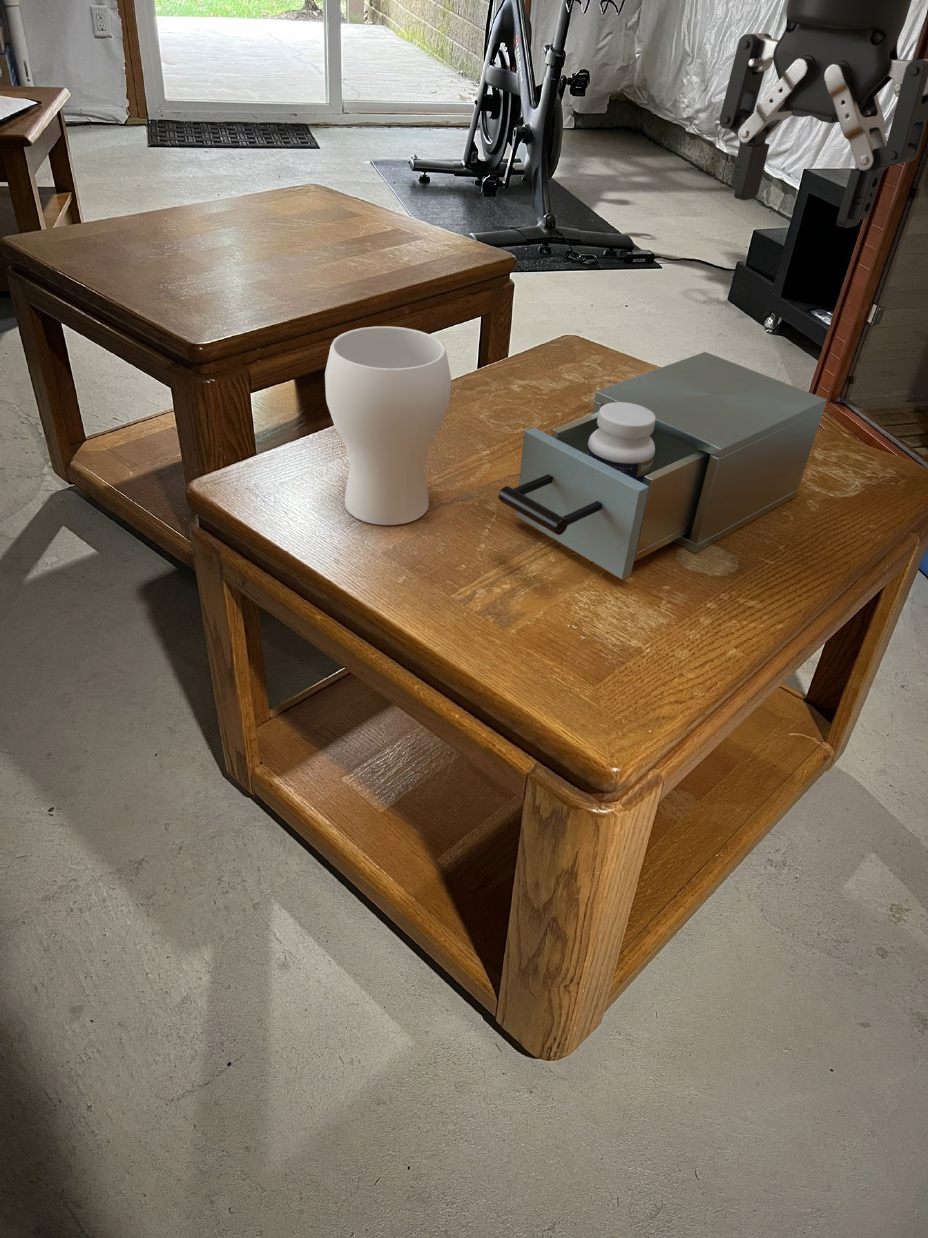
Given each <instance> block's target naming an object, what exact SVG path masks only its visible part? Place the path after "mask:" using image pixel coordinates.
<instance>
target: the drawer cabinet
mask: <svg viewBox="0 0 928 1238" xmlns="http://www.w3.org/2000/svg"><path fill="white" fill-rule="evenodd" d="M593 400H594V401H593V406H592V412H591V414H594V413H596V412H599V410H600V408H601V407H602V406H603V405H605V404H608V403H615V402H624V403H631V404H636V405H639V406H643V407H645V408H647V409H649V410H650V411H652V412H653V413H654V415H655V418H656V420H655V426H654V428H655V429H657V430H660V431H662V432H664V433H666V434H668V435H670V436H672V437H675V438H677V439H679V440H681V441H683V442H685V443H687V444H690V445H692V446H694V447H696V448H698V449H700V450H702V451H705V452H707V453H709V454H711V455H710V459H709V463H708V467H707V471H706V475H705V479H704V484H703V488H702V492H701V496H700V500H699V504H698V508H697V512H696V516H695V520H694V524H693V528H692V531H690V532H689V533H687V534H685V535H683V536H681V537H679V538H677V539H675V540H674V541H673V543H675V544H677V545H678V546H679V545H680V547H683V548H685V549H686V550H688V551H690V552H692V553H693V554H696V553H698V552H700V551H702V550H703V549H705V548H707V547H709V546H710V545H713V544H714V543H715V542H718V541H720V540H721V539H723V538H725V537H727V536H729V535H730V534H732V533H734V532H736V531H737V530H739V529H741V528H743V527H744V526H746V525H749V524H750V523H752V522H753V521H754V522H755V520H757V519H759V518H761V517H762V516H765V515H766V514H769V512H772V511H773V510H775V509H777V508H778V507H780V506H783V505H784V504H786V503H787V502H789V501H791V500H793V499H795V498H796V497H798V493H799V489H800V486H801V483H802V480H803V477H804V473H805V471H806V467H807V464H808V461H809V459H810V455H811V452H812V449H813V445H814V443H815V439H816V437H817V432H818V430H819V426H820V424H821V420H822V417H823V414H824V411H825V408H826V404H827V401H828V399H827V398H825V397H821V396H819V395H817V394H814V393H811V392H809V391H806V390H803V389H801V388H798V387H797V386H794V385H792V384H789V383H785V382H784V381H781V380H779V379H776V378H773V377H771V376H768V375H765V374H763V373H761V372H758V371H755V370H753V369H750V368H747V367H746V366H743V365H740V364H738V363H735V362H732V361H730V360H727V359H724V358H722V357H720V356H717V355H715V354H712V353H709V352H707V351H704V352H700V353H698V354H695V355H692V356H689V357H686V358H683V359H681V360H678V361H675V362H673V363H671V364H667V365H664V366H662V367H658V368H655V369H653V370H651V371H648V372H645V373H643V374H639V375H637V376H634V377H631V378H629V379H628V378H627V379H625V380H622V381H620V382H617V383H614V384H612V385H609V386H606V387H604V388H601V389H598V390H595V393H594V398H593Z"/></svg>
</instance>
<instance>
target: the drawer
mask: <svg viewBox="0 0 928 1238" xmlns="http://www.w3.org/2000/svg"><path fill="white" fill-rule="evenodd" d="M598 415H599V412H596V413H594V414H592V413H591V414H588V415H586V416H583V417H581V418H578V419H576V420H573V421H570V422H568V423H565V424H562V425H560V426H557V427H554V428H552V429H551V432H550V433H551V434H550V435H549V434H547V433H546V432H544V431H542V430H540V429H538V428H536V427H531V428H529V429H526V430H524V434H523V442H522V450H521V459H520V468H519V469H520V470H519V478H518V486H517V487H511V486H509V485H505V486H503V487H501V489H500V491H499V492H498V500H499V502H500V503H502V504H504V505H506V506H507V507H509V508H511V509H513V510H514V511H515V514H514V515H515V517H516V518H518V519H520V520H521V521H524V522H525V523H526V524H528V525H530V526H532V527H534V528H535V529H537V530H539V531H540V532H542V533H544V534H545V535H547V536H548V537H550V538H552V539H554V540H556V541H557V542H558V543H560V544H562V545H563V546H565V547H567V548H569V549H570V550H571V551H574V552H575V553H577V554H579V555H580V556H582V557H583V558H586V559H587V560H589V561H590V562H592V563H594V564H596V565H597V566H598V567H600V568H602V569H604V570H605V571H607V572H609V573H610V574H612V575H614V576H616V577H617V578H619V579H621V580H624V579H625V578H627V577H630V576H631V575H632V571H633V566H634V562H636V561H638V560H640V559H642V558H643V557H645V556H648V555H650V554H651V553H653V552H655V551H657V550H659V549H661V548H662V547H664V546H666V545H668V544H670V543H672V542H674V540H675V539H677V538H679V537H681V536H683V535H685V534H687V533H689V532H690V531H692V528H693V524H694V520H695V516H696V512H697V508H698V504H699V500H700V496H701V492H702V488H703V484H704V479H705V475H706V471H707V467H708V463H709V459H710V455H711V454H709V453H707V452H705V451H702V450H700V449H698V448H696V447H694V446H692V445H690V444H687V443H685V442H683V441H681V440H679V439H677V438H675V437H672V436H670V435H668V434H666V433H664V432H662V431H660V430H657V429H655V428H654V431H653V433H652V434H650V436H649V437H650V438H651V439H652V440H653V442H654V445H655V455H654V460H653V464H652V469H651V473H650V474H648V475H646V476H645V477H644V481H643V483H641V482H639V481H637V480H635V479H633V478H631V477H629V476H627V475H626V474H624V473H622V472H620V471H618V470H616V469H614V468H612V467H610V466H608V465H606V464H604V463H602V462H600V461H598V460H596V459H594V458H592V457H590V456H588V455H587V454H586V452H587V446H588V441H589V438H590V436H591V434H592V433H593V432H594V431H596V430H597V429H599V426H598V425H597V419H598Z"/></svg>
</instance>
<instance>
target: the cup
mask: <svg viewBox="0 0 928 1238" xmlns="http://www.w3.org/2000/svg"><path fill="white" fill-rule="evenodd" d="M326 361H327V363H326V365H325V366H326V367H325V370H324V371H325V372H324V384H325V385H324V387H325V400H326V405H327V407H328V411H329V414H330V417H331V419H332V423H333V425H334V427H335V429H336V431H337V433H338V434H339V436H340V438H341V440H342V441H343V443H344V445H345V446H346V452H347V459H348V465H349V469H348V470H349V471H348V476H347V482H346V487H345V496H344V507H345V509H346V511H347V512H348V514H350V515H351V516H353V517H354V518H356V519H357V520H360V521H363V522H364V523H369V524H372V525H378V526H379V525H380V526H397V525H398V526H399V525H403V524H408V523H410V522H411V523H412V522H413V521H417V520H418V519H419V518H421V517H422V516H425V514H426V513H427V512H428V509H429V505H430V500H429V490H428V484H427V478H426V477H427V476H426V470H425V469H426V464H427V459H428V455H429V454H428V453H429V449H430V447H431V445H432V443H433V441H434V440H435V439H436V437H437V435H438V434H439V433H440V431H441V428H442V426H443V422H444V420H445V417H446V415H447V412H448V409H449V405H450V400H451V389H452V388H451V387H452V376H451V370H450V365H449V359H448V353H447V348H446V347H445V345H444V343H443V341H441V340H440V339H439V338H437V337H435V336H433V335H431V334H429V333H428V332H424V331H421V330H418V329H413V328H407V327H402V326H401V327H400V326H387V325H384V326H383V325H382V326H381V325H380V326H379V325H377V326H375V325H374V326H367V327H359V328H356V329H351V330H348V331H346V332H344V333H340V334H339V335H338V336H337V337H335V338H334V339H333V340H332V342H331V344H330V348H329V353H328V356H327V360H326Z"/></svg>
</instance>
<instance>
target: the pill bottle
mask: <svg viewBox="0 0 928 1238" xmlns="http://www.w3.org/2000/svg"><path fill="white" fill-rule="evenodd" d="M655 420H656V418H655V415H654V413H653V412H652V411H650V410H649V409H647V408H645V407H643V406H639V405H636V404H631V403H624V402H615V403H608V404H605V405H603V406H602V407H601V408H600V410H599V415H598V419H597V425H598V426H599V429H597V430H596V431H594V432H593V433H592V434H591V436H590V438H589V441H588V446H587V452H586V454H587V455H588V456H590V457H592V458H594V459H596V460H598V461H600V462H602V463H604V464H606V465H608V466H610V467H612V468H614V469H616V470H618V471H620V472H622V473H624V474H626V475H627V476H629V477H631V478H633V479H635V480H637V481H639V482H641V483H643V481H644V477H645V476H646V475H648V474H650V473H651V469H652V464H653V460H654V455H655V445H654V442H653V440H652V439H651V438H650V437H649V436H650V434H652V433H653V431H654V426H655Z"/></svg>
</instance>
